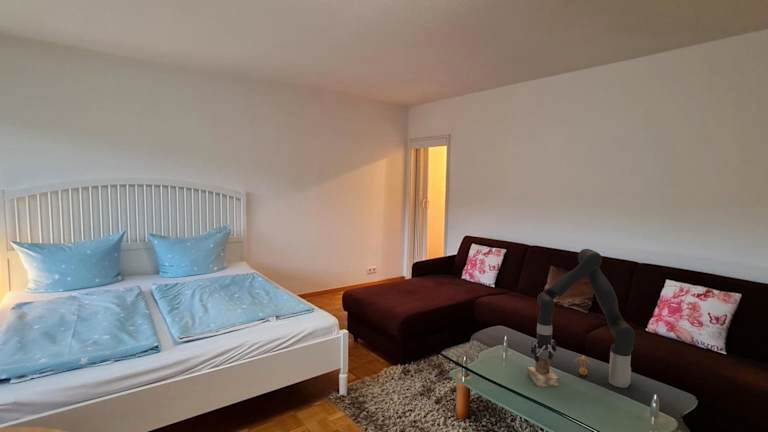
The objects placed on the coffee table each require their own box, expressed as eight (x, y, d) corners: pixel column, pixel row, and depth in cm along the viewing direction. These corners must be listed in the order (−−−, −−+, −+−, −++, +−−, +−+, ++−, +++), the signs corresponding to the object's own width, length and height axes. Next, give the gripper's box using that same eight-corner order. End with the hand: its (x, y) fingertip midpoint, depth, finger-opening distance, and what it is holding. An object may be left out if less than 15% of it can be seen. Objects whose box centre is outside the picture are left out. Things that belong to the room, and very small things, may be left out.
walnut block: (542, 368, 214) (543, 356, 213) (549, 373, 210) (550, 360, 209) (535, 370, 212) (535, 358, 212) (542, 375, 208) (542, 362, 207)
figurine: (592, 375, 216) (593, 354, 214) (590, 380, 211) (591, 359, 209) (575, 371, 221) (576, 350, 219) (573, 375, 216) (574, 354, 214)
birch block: (547, 374, 218) (548, 366, 217) (559, 386, 206) (559, 377, 205) (526, 375, 217) (527, 367, 216) (536, 387, 205) (537, 378, 205)
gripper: (550, 327, 214) (549, 355, 216) (528, 330, 210) (527, 359, 212) (560, 332, 207) (559, 361, 209) (537, 336, 203) (536, 365, 205)
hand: (543, 360), depth 210 cm, fingers open, 8 cm apart
